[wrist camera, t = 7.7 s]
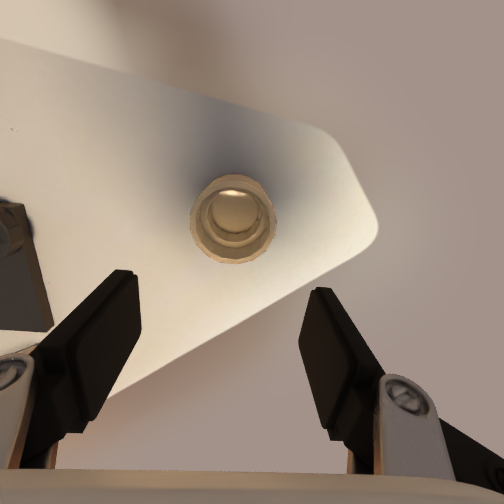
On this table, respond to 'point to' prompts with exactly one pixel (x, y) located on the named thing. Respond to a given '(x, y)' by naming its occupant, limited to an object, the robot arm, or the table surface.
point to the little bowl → (233, 219)
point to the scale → (20, 275)
